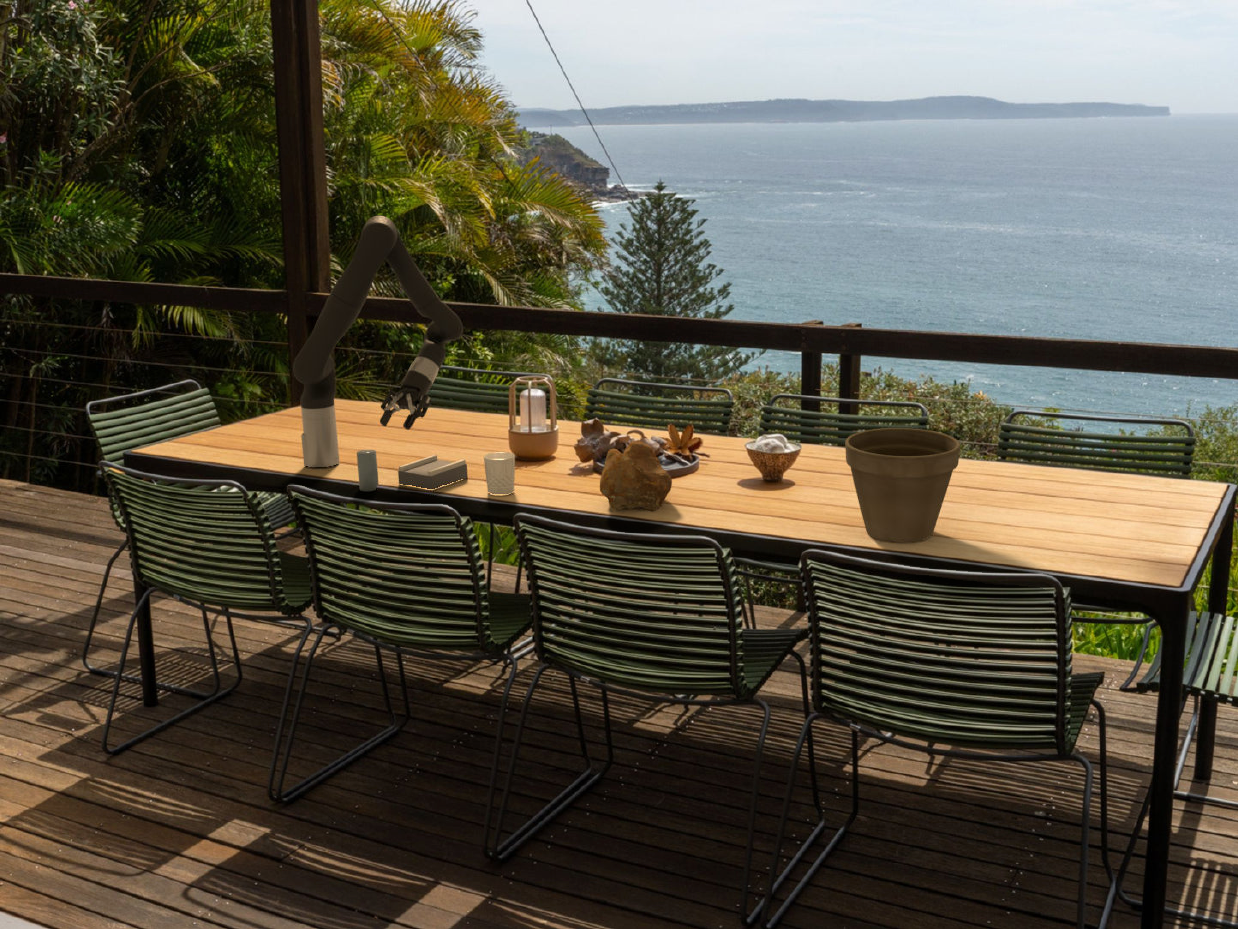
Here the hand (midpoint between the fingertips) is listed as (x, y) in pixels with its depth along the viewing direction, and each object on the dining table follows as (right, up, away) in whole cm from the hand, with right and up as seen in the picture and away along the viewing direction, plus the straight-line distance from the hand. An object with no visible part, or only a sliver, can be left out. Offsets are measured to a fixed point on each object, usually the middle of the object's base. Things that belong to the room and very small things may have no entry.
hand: (394, 426), depth 322 cm
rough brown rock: (+66, -20, -25) cm, 73 cm away
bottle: (-6, -17, -5) cm, 18 cm away
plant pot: (+124, -26, -52) cm, 137 cm away
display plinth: (+11, -15, 0) cm, 18 cm away
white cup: (+30, -18, -12) cm, 37 cm away
